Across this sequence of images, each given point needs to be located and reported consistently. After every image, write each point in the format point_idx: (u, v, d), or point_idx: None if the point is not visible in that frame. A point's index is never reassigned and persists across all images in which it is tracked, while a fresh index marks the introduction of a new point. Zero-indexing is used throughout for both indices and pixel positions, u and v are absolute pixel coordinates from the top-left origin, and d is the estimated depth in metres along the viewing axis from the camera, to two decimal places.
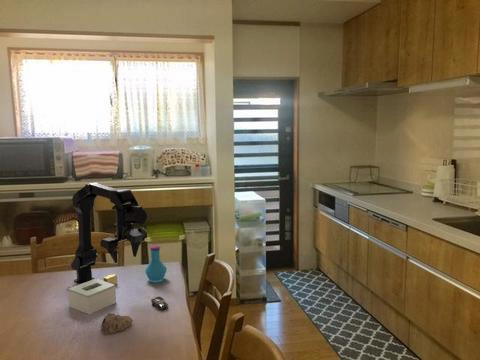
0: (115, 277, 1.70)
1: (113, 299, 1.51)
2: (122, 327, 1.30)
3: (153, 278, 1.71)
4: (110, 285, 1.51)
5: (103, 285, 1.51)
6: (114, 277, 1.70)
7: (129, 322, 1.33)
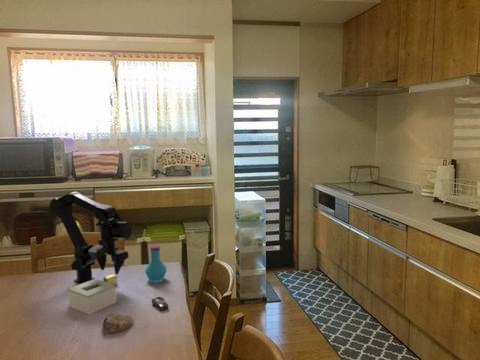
0: (115, 277, 1.70)
1: (113, 299, 1.51)
2: (123, 327, 1.30)
3: (153, 278, 1.71)
4: (110, 285, 1.51)
5: (103, 285, 1.51)
6: (114, 277, 1.70)
7: (130, 322, 1.34)
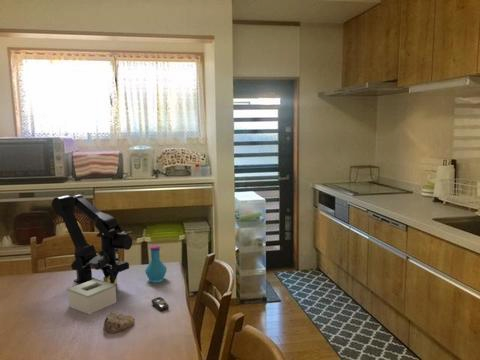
0: None
1: (113, 299, 1.51)
2: (124, 326, 1.31)
3: (153, 278, 1.71)
4: (110, 285, 1.51)
5: (103, 285, 1.51)
6: None
7: (131, 321, 1.34)
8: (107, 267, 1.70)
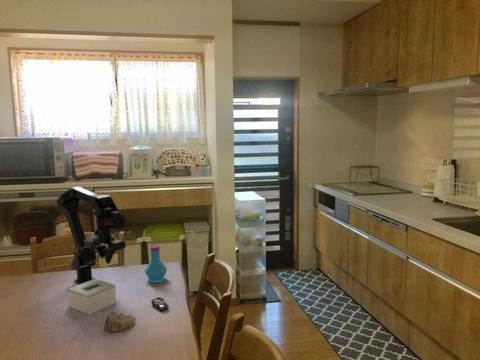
0: None
1: (113, 299, 1.51)
2: (125, 326, 1.31)
3: (153, 278, 1.71)
4: (110, 285, 1.51)
5: (103, 285, 1.51)
6: None
7: (132, 321, 1.34)
8: (102, 247, 1.64)
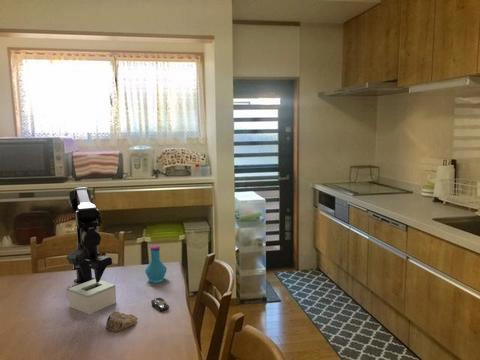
0: None
1: (113, 299, 1.51)
2: (126, 325, 1.31)
3: (153, 278, 1.71)
4: (110, 285, 1.51)
5: (103, 285, 1.51)
6: None
7: (133, 321, 1.34)
8: (84, 262, 1.52)
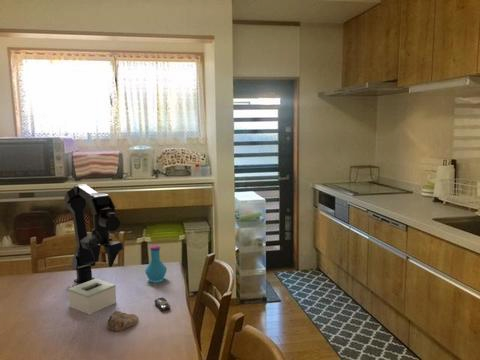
0: None
1: (113, 299, 1.51)
2: (127, 325, 1.32)
3: (153, 278, 1.71)
4: (110, 285, 1.51)
5: (103, 285, 1.51)
6: None
7: (135, 320, 1.35)
8: (95, 246, 1.61)
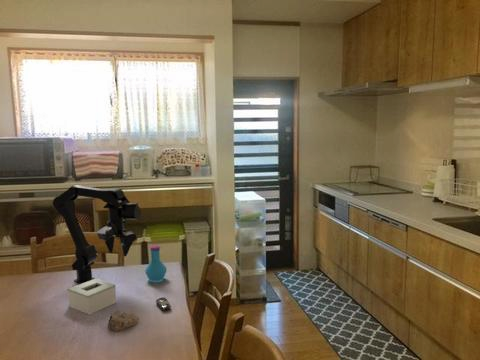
0: None
1: (113, 299, 1.51)
2: (128, 325, 1.32)
3: (153, 278, 1.71)
4: (110, 285, 1.51)
5: (103, 285, 1.51)
6: None
7: (135, 320, 1.35)
8: (110, 238, 1.72)
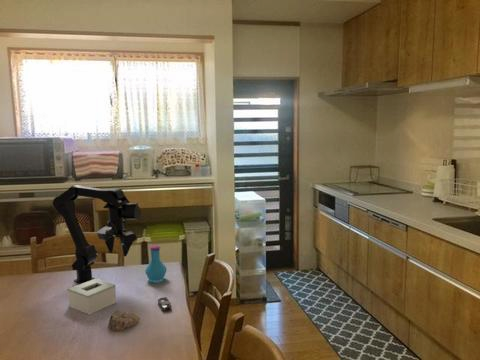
0: None
1: (113, 299, 1.51)
2: (128, 325, 1.32)
3: (153, 278, 1.71)
4: (110, 285, 1.51)
5: (103, 285, 1.51)
6: None
7: (136, 320, 1.35)
8: (110, 238, 1.72)
